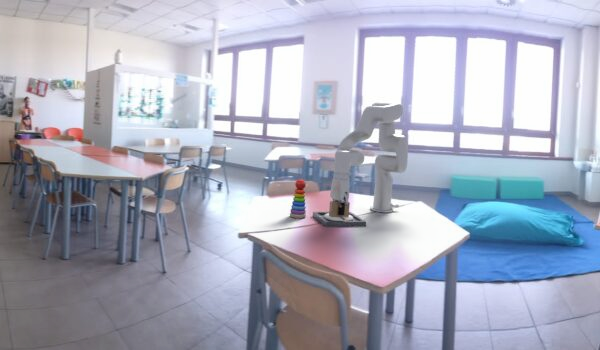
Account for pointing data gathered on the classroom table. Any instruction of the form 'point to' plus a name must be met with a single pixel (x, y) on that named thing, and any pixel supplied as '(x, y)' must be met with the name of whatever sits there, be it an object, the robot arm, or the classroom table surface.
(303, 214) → the stacking toy
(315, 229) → the classroom table surface
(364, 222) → the dial housing
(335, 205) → the dial
